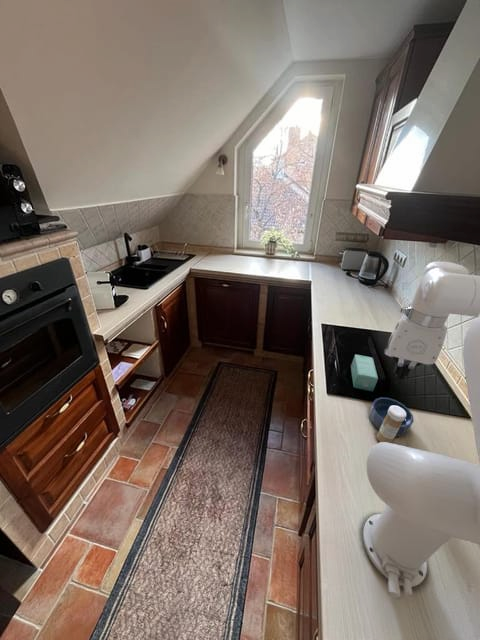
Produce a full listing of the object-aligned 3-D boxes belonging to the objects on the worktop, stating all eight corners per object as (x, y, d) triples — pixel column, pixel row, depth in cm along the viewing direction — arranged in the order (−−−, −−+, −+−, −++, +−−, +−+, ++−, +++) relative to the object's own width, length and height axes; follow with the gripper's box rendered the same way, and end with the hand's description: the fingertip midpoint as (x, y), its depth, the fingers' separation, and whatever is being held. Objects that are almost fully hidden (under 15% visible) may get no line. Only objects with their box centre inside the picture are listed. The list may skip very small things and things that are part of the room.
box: (353, 388, 101) (358, 374, 97) (350, 367, 112) (354, 353, 108) (373, 392, 99) (379, 378, 95) (367, 370, 110) (372, 357, 107)
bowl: (409, 443, 81) (415, 433, 78) (367, 427, 85) (372, 417, 83) (406, 415, 90) (411, 405, 88) (369, 402, 95) (373, 393, 92)
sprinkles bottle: (378, 430, 84) (392, 402, 77) (393, 439, 81) (408, 410, 75) (374, 439, 81) (387, 410, 74) (389, 448, 78) (404, 420, 72)
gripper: (391, 316, 58) (368, 376, 67) (470, 331, 53) (434, 394, 62) (388, 303, 64) (368, 360, 73) (459, 316, 59) (428, 375, 68)
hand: (399, 376), depth 68 cm, fingers closed
